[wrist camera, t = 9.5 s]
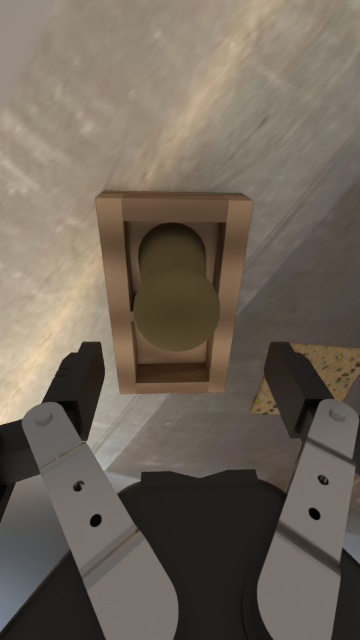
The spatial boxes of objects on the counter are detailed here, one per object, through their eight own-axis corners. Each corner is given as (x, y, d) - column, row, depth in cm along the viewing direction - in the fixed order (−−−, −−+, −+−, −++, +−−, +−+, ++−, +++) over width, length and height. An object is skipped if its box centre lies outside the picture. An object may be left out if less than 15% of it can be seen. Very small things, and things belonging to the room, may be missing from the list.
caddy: (104, 190, 22) (95, 197, 19) (241, 193, 23) (253, 200, 20) (123, 371, 32) (119, 394, 29) (218, 369, 33) (224, 391, 30)
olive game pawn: (147, 212, 22) (136, 260, 13) (216, 234, 24) (251, 292, 14) (130, 278, 25) (113, 356, 16) (193, 295, 27) (209, 375, 17)
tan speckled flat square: (373, 345, 33) (378, 350, 32) (330, 414, 39) (333, 420, 38) (276, 337, 31) (279, 343, 30) (247, 410, 38) (249, 416, 37)
